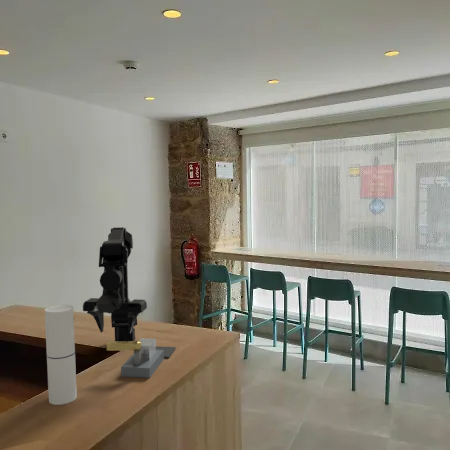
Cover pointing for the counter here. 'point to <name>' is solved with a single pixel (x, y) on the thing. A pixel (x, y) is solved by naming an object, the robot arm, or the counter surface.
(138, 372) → the body
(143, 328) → the counter surface
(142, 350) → the lever cap
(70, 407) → the counter surface
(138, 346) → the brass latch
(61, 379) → the cylindrical container
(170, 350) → the rubber mat
